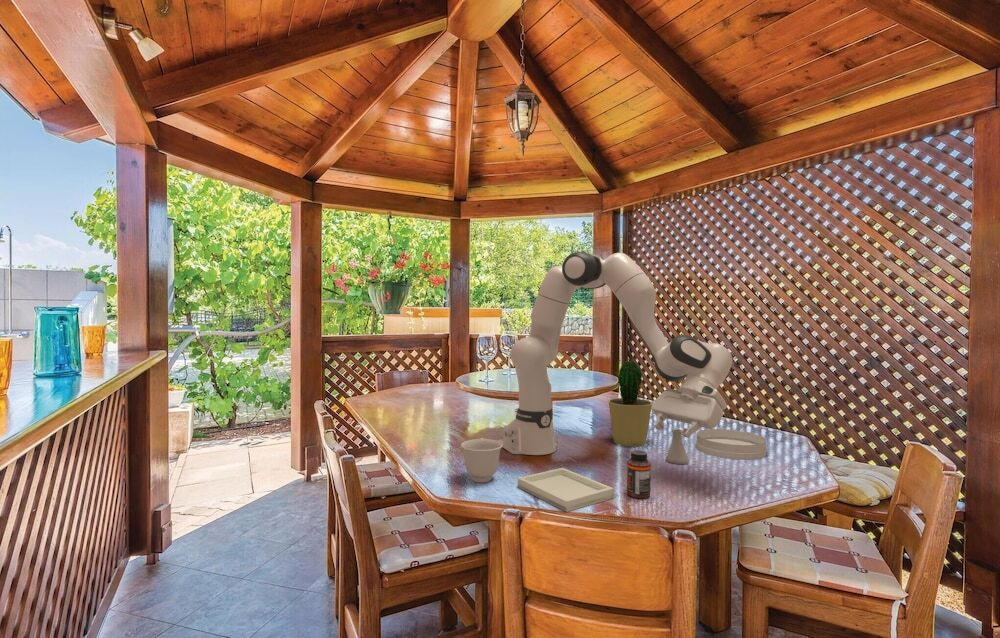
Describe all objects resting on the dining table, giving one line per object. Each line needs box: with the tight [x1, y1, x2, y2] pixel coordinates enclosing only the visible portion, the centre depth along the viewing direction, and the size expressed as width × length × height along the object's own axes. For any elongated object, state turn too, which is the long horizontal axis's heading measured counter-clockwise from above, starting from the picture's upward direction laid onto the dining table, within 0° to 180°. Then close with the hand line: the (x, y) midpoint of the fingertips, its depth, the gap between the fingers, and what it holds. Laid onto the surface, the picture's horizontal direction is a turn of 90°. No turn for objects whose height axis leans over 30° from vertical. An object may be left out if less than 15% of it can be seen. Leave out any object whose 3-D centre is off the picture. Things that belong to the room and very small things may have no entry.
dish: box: [695, 428, 768, 461], centre depth 174 cm, size 22×22×5 cm
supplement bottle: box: [626, 449, 652, 499], centre depth 132 cm, size 6×6×11 cm
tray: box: [517, 467, 615, 513], centre depth 133 cm, size 20×16×2 cm
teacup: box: [460, 437, 503, 483], centre depth 145 cm, size 12×15×10 cm
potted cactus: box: [608, 360, 653, 447], centre depth 183 cm, size 15×15×30 cm
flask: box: [664, 428, 690, 465], centre depth 161 cm, size 7×7×10 cm
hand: (671, 432), depth 137 cm, fingers open, 8 cm apart
